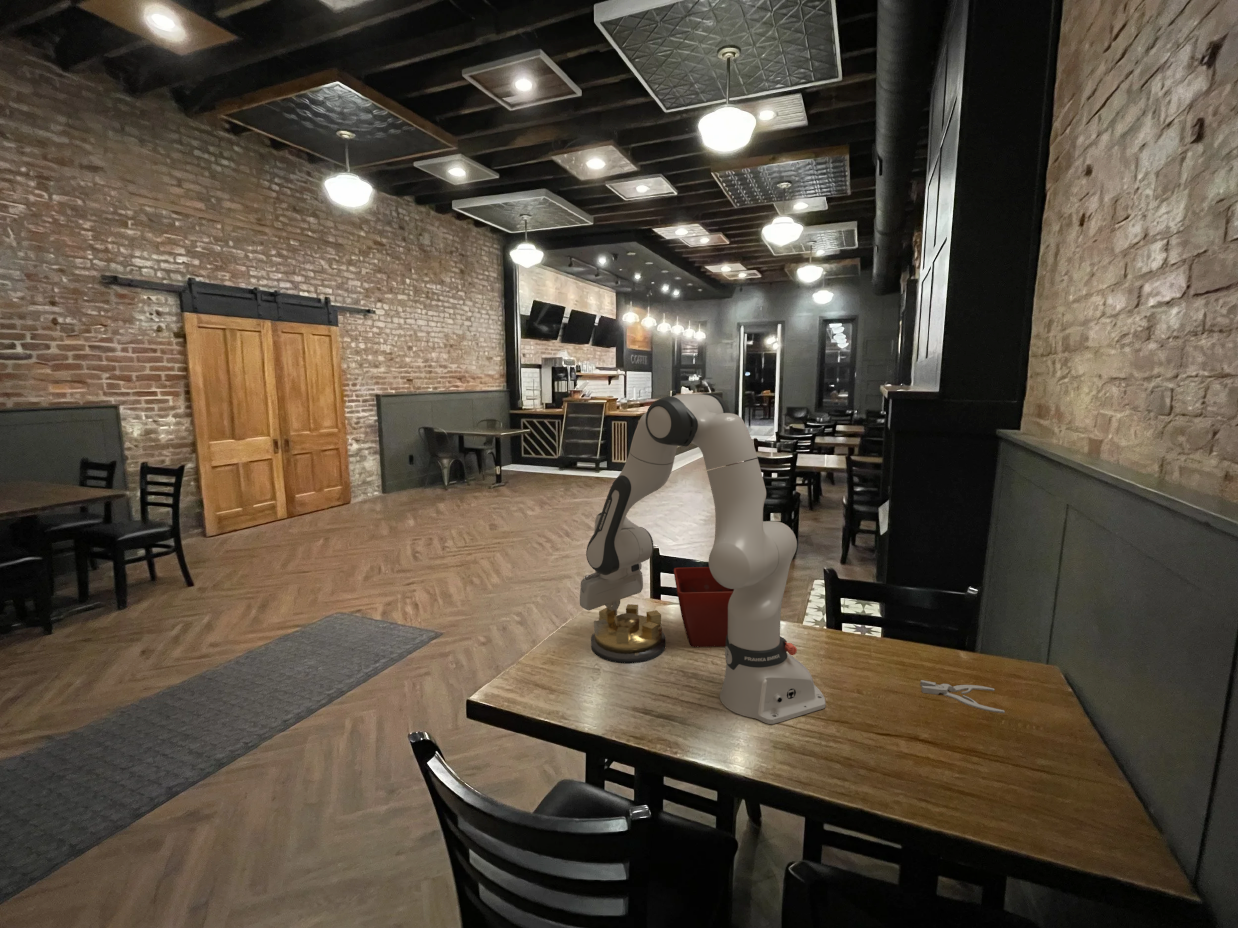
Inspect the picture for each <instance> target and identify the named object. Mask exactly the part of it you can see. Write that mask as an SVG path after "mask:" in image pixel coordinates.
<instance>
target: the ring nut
mask: <svg viewBox="0 0 1238 928" xmlns="http://www.w3.org/2000/svg"><path fill="white" fill-rule="evenodd" d="M593 628H594V629H593V630H594V631H593V633H594V632H595V642H596V643H597V645H599V646H600V647H601V648H603V649H605V650H608V651H612V652H617V653H638V652H643V651H647V650H650V649H652V648H654V647H656V646H657V645H658V644H659V643H660V642H661V640H662V632H663V627H662V614H661V612H659V611H658V610H651V611H646V615H640V614H639V604H633V603H632V604H631V603H630V604H629V603H628V604H627V605H626V607H625V612H624V613H621V614H617V615H616V616H615V614H614V610H612V611H611V610H609V609H607V607H605V608H603V609H601V610H599V611H598V620H594V621H593Z"/></svg>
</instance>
